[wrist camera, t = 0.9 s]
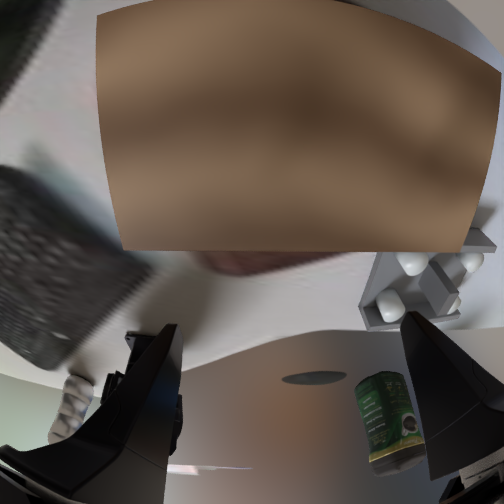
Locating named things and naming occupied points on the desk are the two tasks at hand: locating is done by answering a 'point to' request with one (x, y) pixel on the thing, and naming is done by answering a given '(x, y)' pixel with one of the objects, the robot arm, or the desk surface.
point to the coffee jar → (389, 423)
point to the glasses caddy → (420, 283)
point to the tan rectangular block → (290, 128)
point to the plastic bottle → (71, 408)
